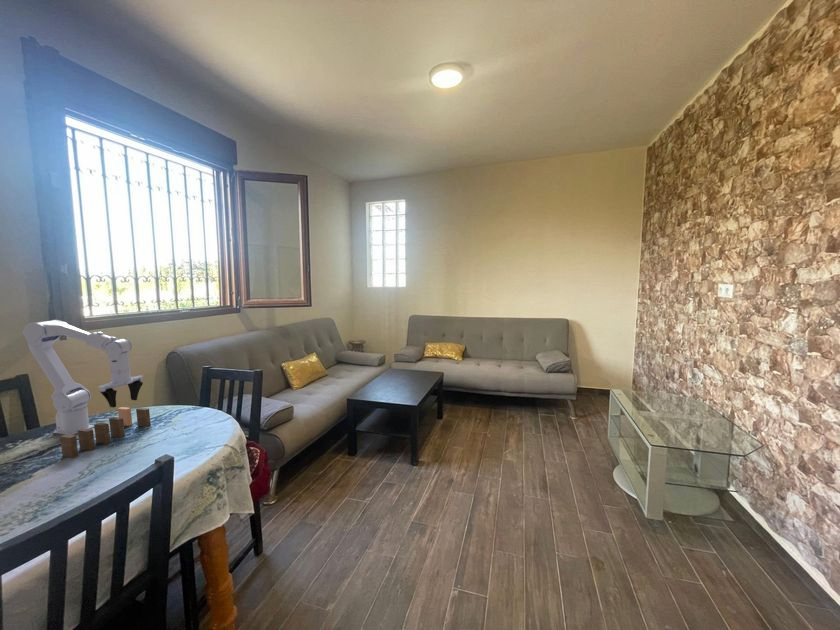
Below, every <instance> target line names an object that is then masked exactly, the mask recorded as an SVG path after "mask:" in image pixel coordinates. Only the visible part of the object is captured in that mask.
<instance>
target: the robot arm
mask: <svg viewBox="0 0 840 630" xmlns="http://www.w3.org/2000/svg"><path fill="white" fill-rule="evenodd" d="M22 336H24V339H25V340H26V342H27V346H28V349H29V351H30V353H31V354H32V356H33V358H34V359H35V361H36V362H37V364H38V365H39V367H40V368H41V370H42V372H43V373H44V374H45V376H46V377H47V379H48V381H49V382H50V384H51V386H52V387H53V389H54V391H53V393H52V394H51V395H50V398H51V399H52V403H53V407H54V409H55V410H57V412H56V413H55V416H54V417H55V425H56V430H55V431H54V432H53V433H54V434H60V435H66V434H67V435H74V436H75V435H76V434H77V435H78V430H79V429H82V428H86V429H94V424H90V421H89V412H88V411H89V410H88V405H89V401H91V400H92V393H91V391H90V390H88V389H87V388H86V387H84V385H83V384H81V383H79V382H75V381H74V380H73V378H72V376H71V375H70V373H69V372H68V370H67V369H66V366H65V365H64V364H63V362H62V360H61V358H59V356H58V354H57V352H56V351H55V349H54V348H53V346H54V343H55V342H56V341H57V340H58V339H60V337H62V336H64V337H69V338H72V339H76V340H79V341H83V342H85V344H86V345H87V346H88V347H91V348H94V349H96V350H101V351H104V353H105V354H106V355H107V358H108V360H109V364H110V365H109V367H110V368H109V369H110V375H111V381H110V382H107V383H105V384H101V385H99V386H98V391H99V392H100V394H101V395H102V396H103V397H104V398H105V400H106V402H108V405H109V408H116V407H117V399H116V397H117V394H118V393H117V392H118V391H117V390H116V388H119V387H123V386H126V385H127V386H128V389H129V392H130V394H129V395H130V400H131V401H137V400H138V396H139V393H140V390H141V388H142V386H143V385H144V382H143V381H144V376H143V375H137V376H136V375H135V376H132V374H131V364H130V362H131V361H130V353H129V352H130V351H131V350H132V348H133V344H132V342H131V341H130V340H129V339H127V338H117V337H116V336H110V335H108V334H104V332H103V331H94V332H89V331H86V330H83V329H81V328H78V327H76V326H73V325H72V324H68V322H66V321H63V320H59V319H52V320H45V321H37V322H30V323H28V324H27V325H25V327H24V329H23V331H22Z"/></svg>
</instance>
